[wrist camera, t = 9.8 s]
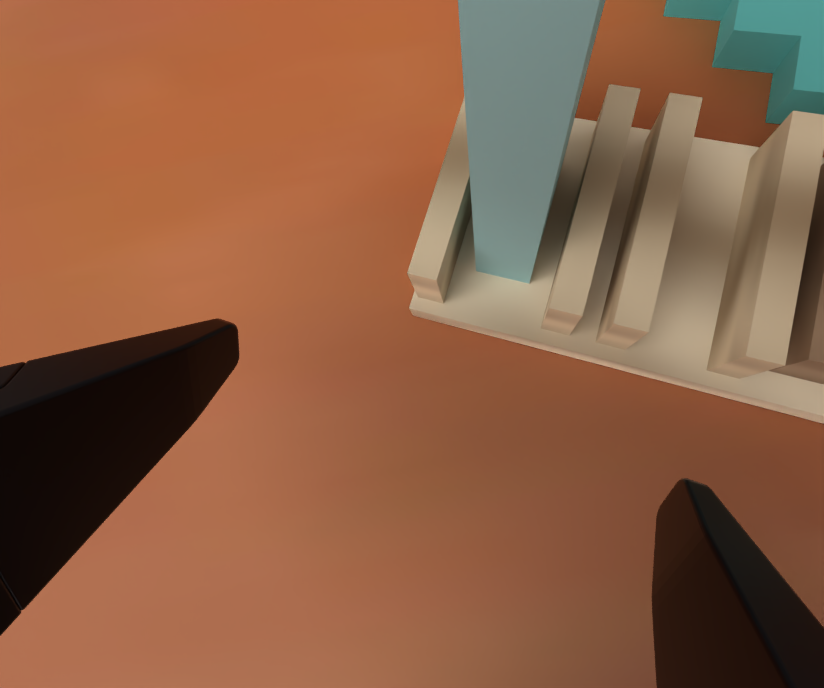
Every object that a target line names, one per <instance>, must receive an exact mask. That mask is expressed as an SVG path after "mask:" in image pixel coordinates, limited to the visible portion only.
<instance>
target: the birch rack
mask: <svg viewBox="0 0 824 688" xmlns="http://www.w3.org/2000/svg"><path fill="white" fill-rule="evenodd" d="M640 90H641V89H640V88H633V87H626V86H619V85H612V84H609V87H608V90H607V93H606V96H605V99H604V102H603V105H602V108H601V111H600V114H599V117H598V120H597V121H591V120H585V119H579V118H574V122H573V126H572V130H571V134H570V137H569V141H568V145H567V149H566V153H565V157H564V160H563V164H562V168H561V171H560V175H559V179H558V182H557V186H556V189H555V193H554V197H553V200H552V204H551V207H550V211H549V215H548V218H547V222H546V226H545V229H544V233H543V236H542V240H541V244H540V247H539V251H538V254H537V258H536V262H535V265H534V269H533V272H532V276H531V280H530V283H524V282H520V281H516V280H512V279H507V278H503V277H499V276H495V275H490V274H486V273H482V272H478V271H476V264H475V249H474V233H473V218H472V203H471V188H470V173H469V158H468V143H467V128H466V113H465V98H464V100H463V103H462V106H461V109H460V112H459V115H458V118H457V122H456V125H455V128H454V131H453V134H452V137H451V140H450V143H449V146H448V149H447V152H446V155H445V158H444V161H443V165H442V168H441V171H440V174H439V177H438V180H437V183H436V186H435V189H434V192H433V195H432V198H431V201H430V205H429V208H428V211H427V214H426V217H425V220H424V223H423V226H422V229H421V232H420V235H419V238H418V241H417V244H416V248H415V251H414V254H413V257H412V260H411V263H410V266H409V269H408V272H407V274H408V276H409V278H410V281H411V283H412V285H413V287H414V289H415V291H414V294H413V297H412V301H411V304H410V307H409V309H410V311H411V313H412V314H413V316H417V317H421V318H425V319H428V320H432V321H436V322H440V323H444V324H447V325H451V326H455V327H459V328H462V329H466V330H470V331H474V332H478V333H481V334H485V335H489V336H493V337H497V338H500V339H504V340H508V341H512V342H516V343H519V344H523V345H527V346H531V347H535V348H538V349H542V350H546V351H550V352H554V353H557V354H561V355H565V356H569V357H573V358H576V359H580V360H584V361H588V362H592V363H595V364H599V365H603V366H607V367H611V368H614V369H618V370H622V371H626V372H629V373H633V374H637V375H641V376H645V377H648V378H652V379H656V380H660V381H664V382H667V383H671V384H675V385H679V386H683V387H686V388H690V389H694V390H698V391H702V392H705V393H709V394H713V395H717V396H721V397H724V398H728V399H732V400H736V401H740V402H743V403H747V404H751V405H755V406H759V407H762V408H766V409H770V410H774V411H778V412H781V413H785V414H789V415H793V416H796V417H800V418H804V419H808V420H812V421H815V422H819V423H823V424H824V385H823V384H819V383H815V382H811V381H807V380H803V379H799V378H795V377H791V376H787V375H783V374H779V373H775V372H771V371H769V370H772V369H775V368H779V367H782V366H785V364H786V358H787V353H788V347H789V341H790V336H791V330H792V325H793V319H794V313H795V308H796V302H797V296H798V291H799V285H800V280H801V274H802V268H803V263H804V257H805V252H806V246H807V240H808V235H809V229H810V223H811V218H812V212H813V207H814V201H815V195H816V190H817V184H818V178H819V173H820V167H821V165H822V164H823V163H824V158H823V157H822V156H823V150H824V115H821V114H814V113H807V112H800V111H792V112H791V113H790V115H789V116H788V117H787V118H786V119H785V120H784V121H783V122H782V123H781V125H780V126H779V127H778V128H777V129H776V130H775V131H774V132H773V133H772V135H771V136H770V137H769V138H768V139H767V140H766V141H765V142H764V143H763V145H762V146H761V147H754V146H748V145H741V144H735V143H729V142H723V141H716V140H710V139H704V138H698V137H694V134H695V129H696V125H697V121H698V116H699V112H700V108H701V103H702V99H703V97H696V96H689V95H682V94H675V93H669V95H668V97H667V99H666V101H665V103H664V105H663V107H662V109H661V111H660V113H659V115H658V117H657V119H656V121H655V123H654V125H653V127H652V129H651V130H648V129H641V128H635V127H631V125H632V121H633V117H634V113H635V109H636V105H637V101H638V97H639V94H640Z"/></svg>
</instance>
